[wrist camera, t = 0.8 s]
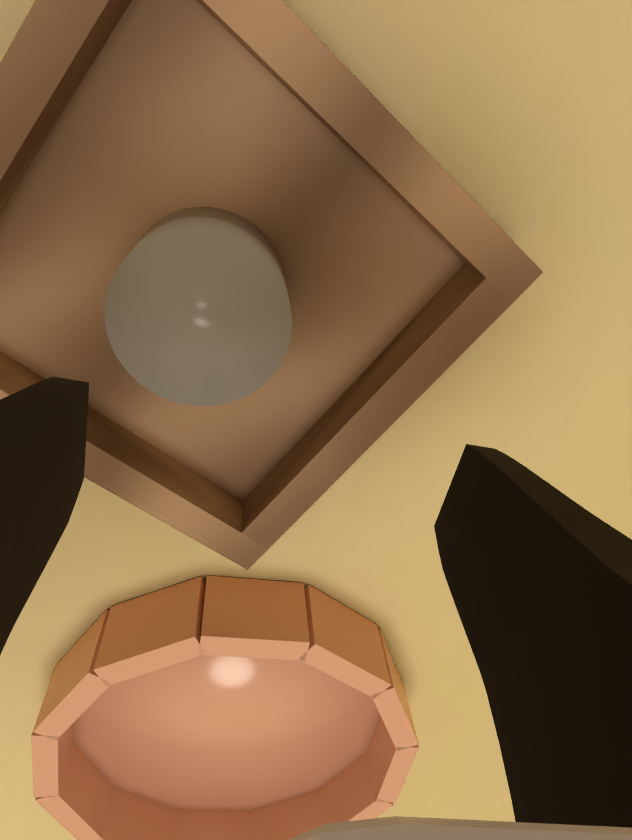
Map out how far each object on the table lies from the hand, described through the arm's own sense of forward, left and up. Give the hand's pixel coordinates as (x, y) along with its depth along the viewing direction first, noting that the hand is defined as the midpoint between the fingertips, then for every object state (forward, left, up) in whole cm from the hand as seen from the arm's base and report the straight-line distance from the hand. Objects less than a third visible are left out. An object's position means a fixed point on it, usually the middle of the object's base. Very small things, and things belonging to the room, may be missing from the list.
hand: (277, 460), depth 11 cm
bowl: (+11, -16, -10) cm, 22 cm away
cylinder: (-2, 0, -9) cm, 9 cm away
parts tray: (-2, 0, -10) cm, 10 cm away
